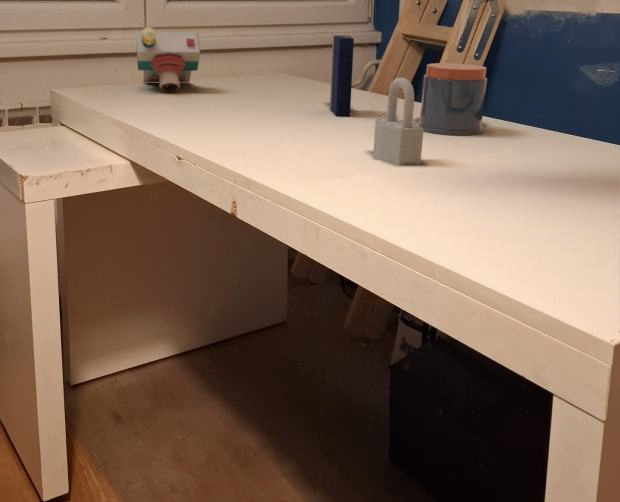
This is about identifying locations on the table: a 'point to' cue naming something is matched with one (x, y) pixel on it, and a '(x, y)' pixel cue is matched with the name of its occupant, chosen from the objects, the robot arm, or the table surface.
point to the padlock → (398, 129)
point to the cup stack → (453, 99)
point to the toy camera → (167, 57)
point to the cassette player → (341, 75)
